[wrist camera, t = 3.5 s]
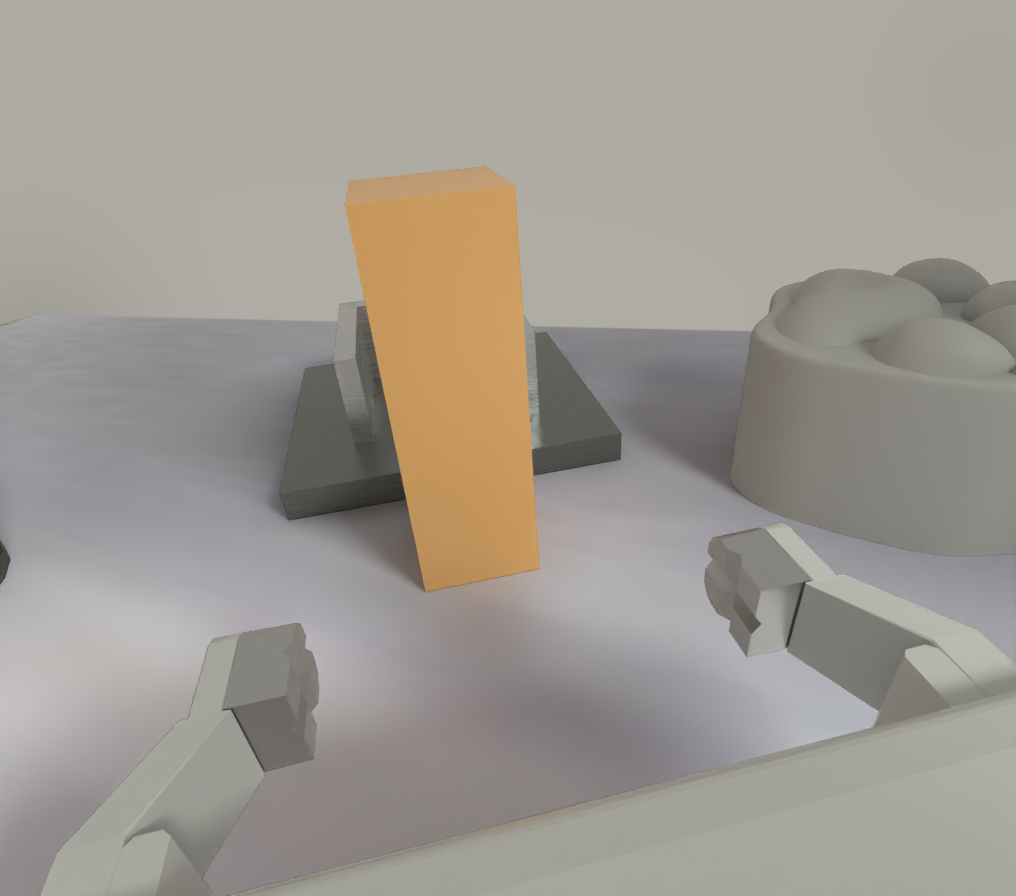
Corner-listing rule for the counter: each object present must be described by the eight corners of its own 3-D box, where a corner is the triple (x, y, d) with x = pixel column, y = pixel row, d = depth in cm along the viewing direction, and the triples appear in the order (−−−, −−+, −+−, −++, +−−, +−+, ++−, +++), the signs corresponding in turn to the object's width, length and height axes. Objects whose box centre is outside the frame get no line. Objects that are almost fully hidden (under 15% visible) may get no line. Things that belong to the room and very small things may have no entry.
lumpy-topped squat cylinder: (761, 400, 33) (788, 242, 29) (1058, 449, 27) (1152, 260, 23) (715, 504, 26) (742, 314, 21) (1109, 602, 20) (1263, 368, 15)
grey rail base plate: (620, 459, 29) (623, 345, 26) (288, 519, 27) (248, 404, 24) (547, 352, 41) (543, 265, 38) (311, 389, 39) (285, 299, 36)
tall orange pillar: (514, 501, 27) (485, 166, 20) (539, 568, 23) (515, 185, 16) (416, 520, 27) (348, 180, 19) (425, 592, 23) (344, 204, 15)
